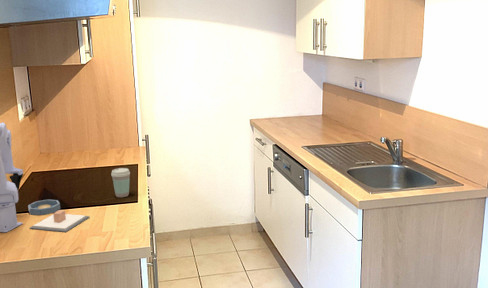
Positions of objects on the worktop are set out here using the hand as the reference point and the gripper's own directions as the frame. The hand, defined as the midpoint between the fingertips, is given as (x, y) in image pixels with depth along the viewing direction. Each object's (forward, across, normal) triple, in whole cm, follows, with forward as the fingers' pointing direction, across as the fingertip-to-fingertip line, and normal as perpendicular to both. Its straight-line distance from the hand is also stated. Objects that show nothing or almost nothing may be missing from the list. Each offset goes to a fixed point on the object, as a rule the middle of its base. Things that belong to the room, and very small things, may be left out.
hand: (8, 190), depth 208 cm
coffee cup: (+11, -33, -32) cm, 48 cm away
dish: (+10, -10, -8) cm, 16 cm away
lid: (+10, -26, +4) cm, 28 cm away
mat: (+10, -26, +4) cm, 29 cm away
